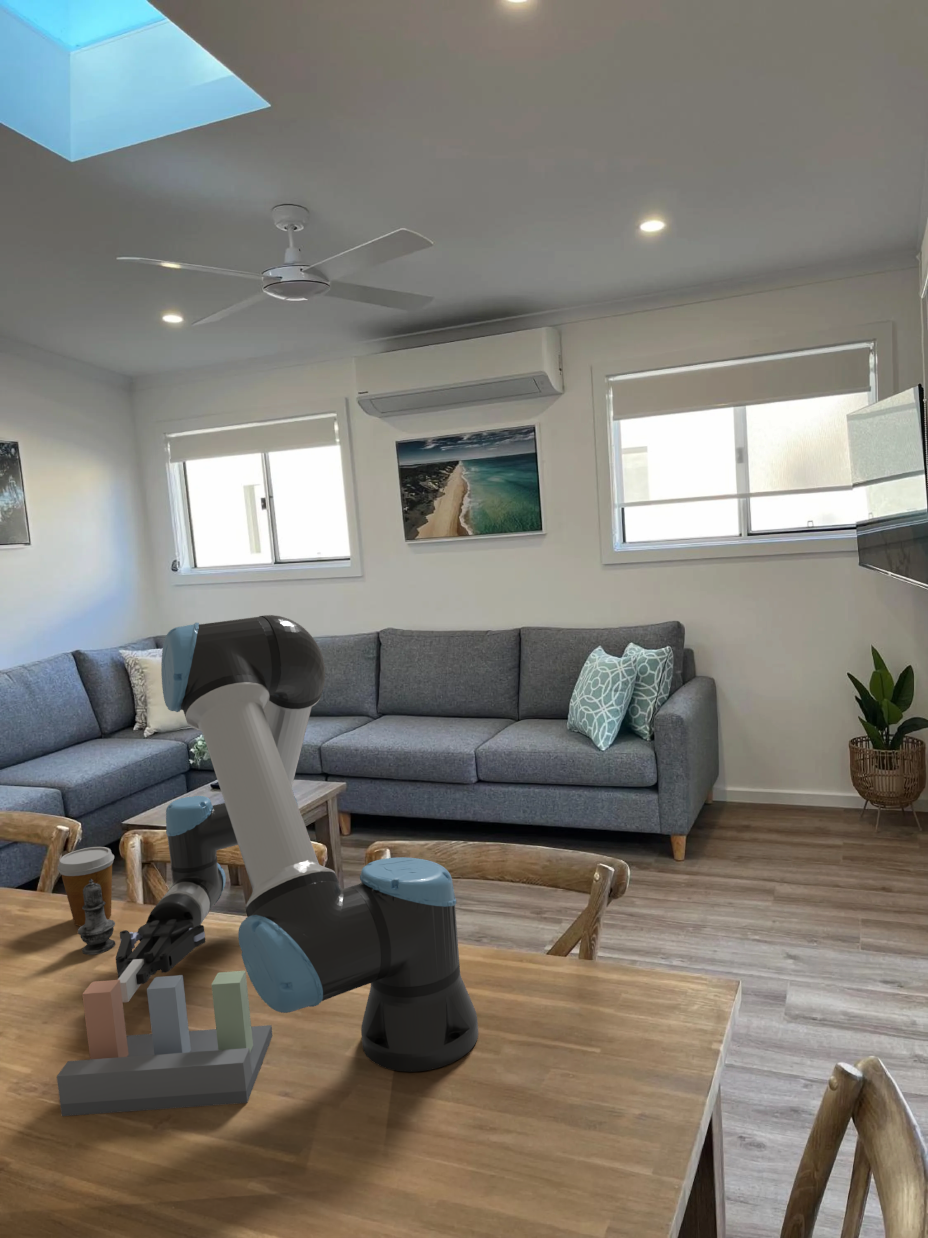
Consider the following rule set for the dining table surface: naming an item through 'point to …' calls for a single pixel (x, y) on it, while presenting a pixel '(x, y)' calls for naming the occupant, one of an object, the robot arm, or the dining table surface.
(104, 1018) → the salmon pink block
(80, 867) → the disposable coffee cup
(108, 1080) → the dark grey block holder
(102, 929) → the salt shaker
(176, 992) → the blue-grey upright block
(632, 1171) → the dining table surface
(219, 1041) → the green rectangular block
